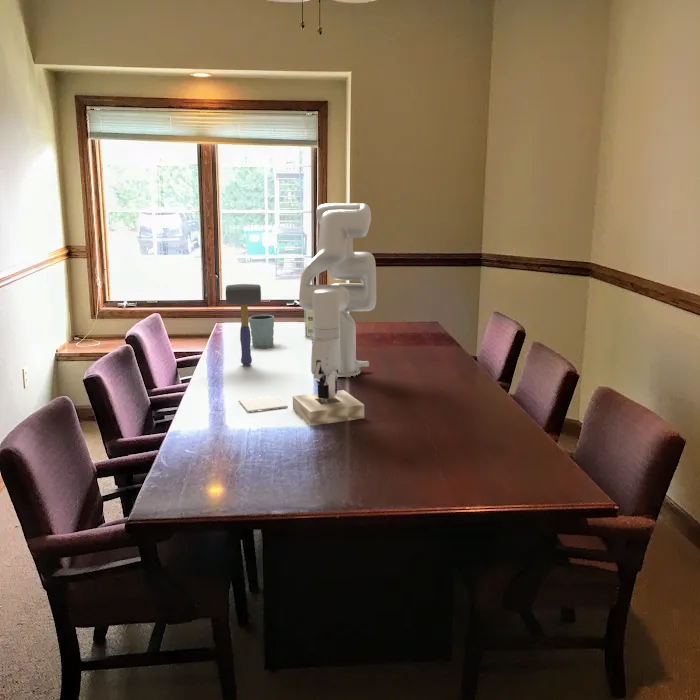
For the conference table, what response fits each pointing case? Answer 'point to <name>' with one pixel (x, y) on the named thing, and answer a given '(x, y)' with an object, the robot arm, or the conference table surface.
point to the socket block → (328, 408)
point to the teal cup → (262, 330)
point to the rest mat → (262, 403)
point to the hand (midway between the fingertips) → (327, 395)
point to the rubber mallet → (244, 312)
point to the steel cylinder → (330, 389)
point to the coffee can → (308, 324)
